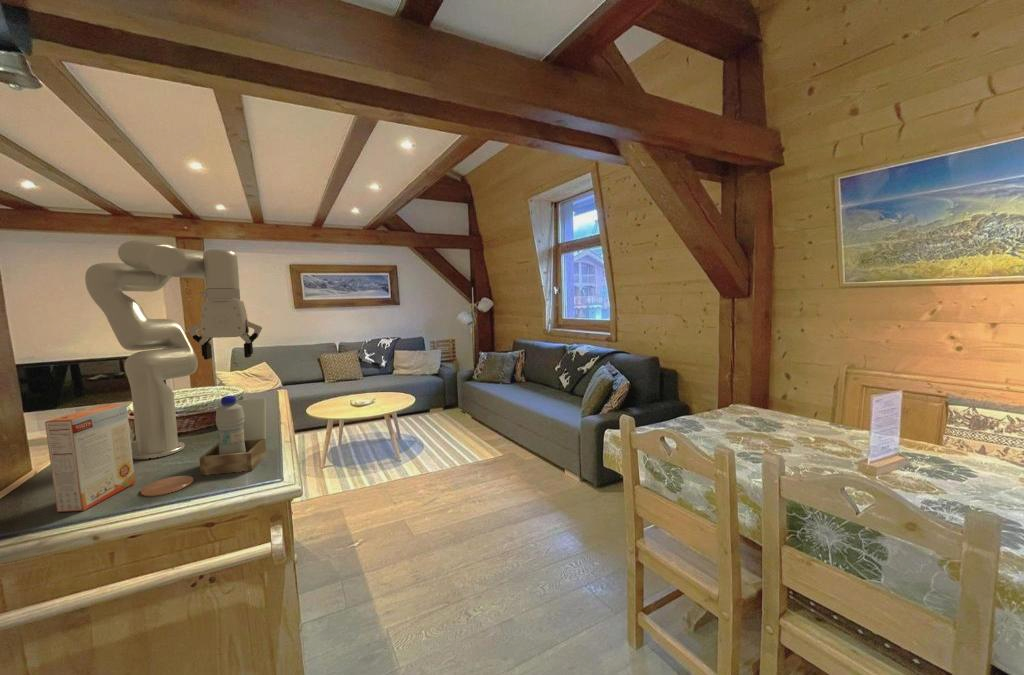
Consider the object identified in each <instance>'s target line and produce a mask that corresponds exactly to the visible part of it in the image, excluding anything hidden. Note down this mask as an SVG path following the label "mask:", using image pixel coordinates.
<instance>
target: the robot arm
mask: <svg viewBox="0 0 1024 675" xmlns="http://www.w3.org/2000/svg"><path fill="white" fill-rule="evenodd" d="M117 255H118V258H119V259H120V261H121V262H122V263H120V262H100V263H95V264H92V265H90V266H89V267H88V268H87V269H86V271H85V276H84V280H85V286H86V289H87V292H88V294H89V295H90V297H91V298H92V300H93V302H94V303H95V304H96V305H97V306H98V307H99V309H100V310H101V311H102V312H103V313H104V316H105V317H106V320H107V322H108V324H109V325H110V327H111V329H112V332H113V333H114V336H115V337H116V340H117V342H118V343H119V345H120V346H121V347H122V348H123V349H125V350H126V351H137V352H135V353H131V354H130V355H129V356H128V357H127V358H126V359H125V361H124V371H125V375H126V377H127V379H128V383H129V386H130V392H131V399H132V409H133V420H134V421H133V422H134V430H135V431H134V432H135V433H134V434H135V440H130V441H131V450H132V459H133V460H149V458H151V459H156V458H157V457H158V458H162V457H166V456H169V455H172V454H176V453H178V452H180V451H182V450H183V449H184V448H185V446H186V445H185V443H184V442H183V441H179V440H178V439H179V438H178V427H177V417H176V416H177V415H176V402H175V395H174V394H175V393H174V391H173V389H172V388H171V387H170V386H169V385H168V384H166V383H165V381H166V380H169V379H170V380H171V379H176V378H183V377H188V376H190V375H193V374H194V373H196V371H197V369H198V366H199V361H198V357H197V354H196V353H195V350H194V349H193V345H192V344H191V342H190V340H189V339H188V336H187V335H186V333H185V331H184V329H183V327H182V326H181V325H180V323H178V322H177V321H175V320H173V319H170V318H149V317H148V316H147V314H146V313H145V312H144V310H143V307H142V306H141V305H140V303H138V302H137V301H136V300H135V299H133V298H132V297H131V296H128V295H127V294H125V293H124V292H146V293H147V292H149V293H150V292H151V293H152V292H156V291H159V290H161V289H162V288H163V287H165V285H167V283H168V282H169V281H170V280H171V279H172V278H173V277H174V278H186V279H188V278H191V279H192V278H193V279H204V282H205V285H204V286H205V290H204V291H200V293H199V295H200V297H201V298H203V297H204V298H205V301H202V305H201V314H200V323H198V324H196V325H194V326H192V327H189V328H188V330H187V332H188V333H189V334H190V336H192V339H193V340H194V341H195V342H197V343H198V345H199V346H201V348H200V349H201V355H202V357H203V360H206V361H207V360H210V359H212V358H213V353H212V344H211V343H210V342H211V340H212V339H213V338H215V339H217V338H218V339H219V338H241V339H242V340H243V341H244V342H245V343H243V353H244V355H243V356H244V358H246V359H247V358H251V357H252V355H253V353H254V349H253V348H254V347H253V343H254V342H255V340H257V338H258V337H259V336H260V334H261V332H262V329H263V327H262V326H261V325H258V324H256V323H255V322H251V321H249V319H248V313H247V310H246V306H245V303H244V301H243V300H241V292H240V289H241V288H240V279H239V278H240V276H239V265H238V262H239V261H238V255H237V254H236V253H235V251H233V250H228V249H215V248H214V249H207V250H205V251H202V250H196V249H195V250H194V249H186V248H177V246H175V245H172V244H170V243H165V242H158V241H157V242H156V241H150V240H143V239H142V240H140V239H132V240H131V239H130V240H128V241H125V242H123V243H121V244H120V246H118V248H117ZM250 328H251V329H253V330H254V331H253V333H252V334H251V335H250V334H249V332H250V330H249V329H250ZM199 331H200V332H201V335H202V336H201V335H200V334H199Z"/></svg>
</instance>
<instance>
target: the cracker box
mask: <svg viewBox="0 0 1024 675" xmlns="http://www.w3.org/2000/svg"><path fill="white" fill-rule="evenodd" d="M44 426H45V433H46V440H47V448H48V455H49V461H50V462H49V463H50V469H51V476H52V478H51V479H52V484H53V489H54V490H53V491H54V499H55V505H56V512H57V513H67V512H83V511H86V510H88V509H89V508H92V507H95V505H97V504H98V503H101V502H103V501H104V500H107V499H108V498H110V497H112V496H113V495H115V494H117V493H120V492H121V491H124V490H125V489H127V488H128V487H131V486H132V485H134V484H136V479H135V470H134V469H135V468H134V459H132V452H133V449H131V441H132V440H131V433H130V423H129V415H128V406H127V404H126V403H124V404H123V403H119V404H115V403H114V404H113V403H111V404H110V403H109V404H103V405H99V406H95V407H92V408H88V409H84V410H81V411H78V412H74V413H70V414H67V415H64V416H59V417H56V418H53V419H50V420H49V419H48V420H46V421H45V422H44Z"/></svg>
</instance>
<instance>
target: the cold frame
mask: <svg viewBox="0 0 1024 675" xmlns="http://www.w3.org/2000/svg"><path fill="white" fill-rule="evenodd" d="M244 442H245V449H246V452H244V453H233V454H222V455H219V442H218V443H216V445H214V446H213V447H212V448H210V449H208V451H206V452H205V453H203V454H202V455H201V456H200V457H199V469H200V476H201V475H207V476H210V475H209V474H216V475H220V474H219V473H226V474H232V473H231V472H236V473H242V471H245V472H252V471H253V470H255V468H256V467H257V466H258V465H259V464H260V462H262V460H264V458H265V457H266V456H267V447H266V446H267V445H266V444H267V443H266V439H258V440H246V441H244ZM258 463H259V464H258ZM257 464H258V465H257Z"/></svg>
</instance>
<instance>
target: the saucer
mask: <svg viewBox="0 0 1024 675" xmlns="http://www.w3.org/2000/svg"><path fill="white" fill-rule="evenodd" d="M192 482H193V483H194V477H192V476H189V475H177V476H170V477H166V478H162V479H159V480H156V481H153V482H149V483H148V484H146V485H145V486H143V487H142V488H141V489H140V495H141V496H143V495H144V497H159V496H164V494H165V495H168V493H169V494H172V493H171V492H173V493H175V491H176V492H178V491H177V490H179V491H181V490H180V489H182V488H184V487H186V486H188V485H190V484H191V483H192ZM193 483H192V484H193ZM192 484H191V485H192ZM191 485H190V486H191ZM188 487H189V486H188ZM186 488H187V487H186ZM184 489H185V488H184ZM182 490H183V489H182ZM158 495H159V496H158Z"/></svg>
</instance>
